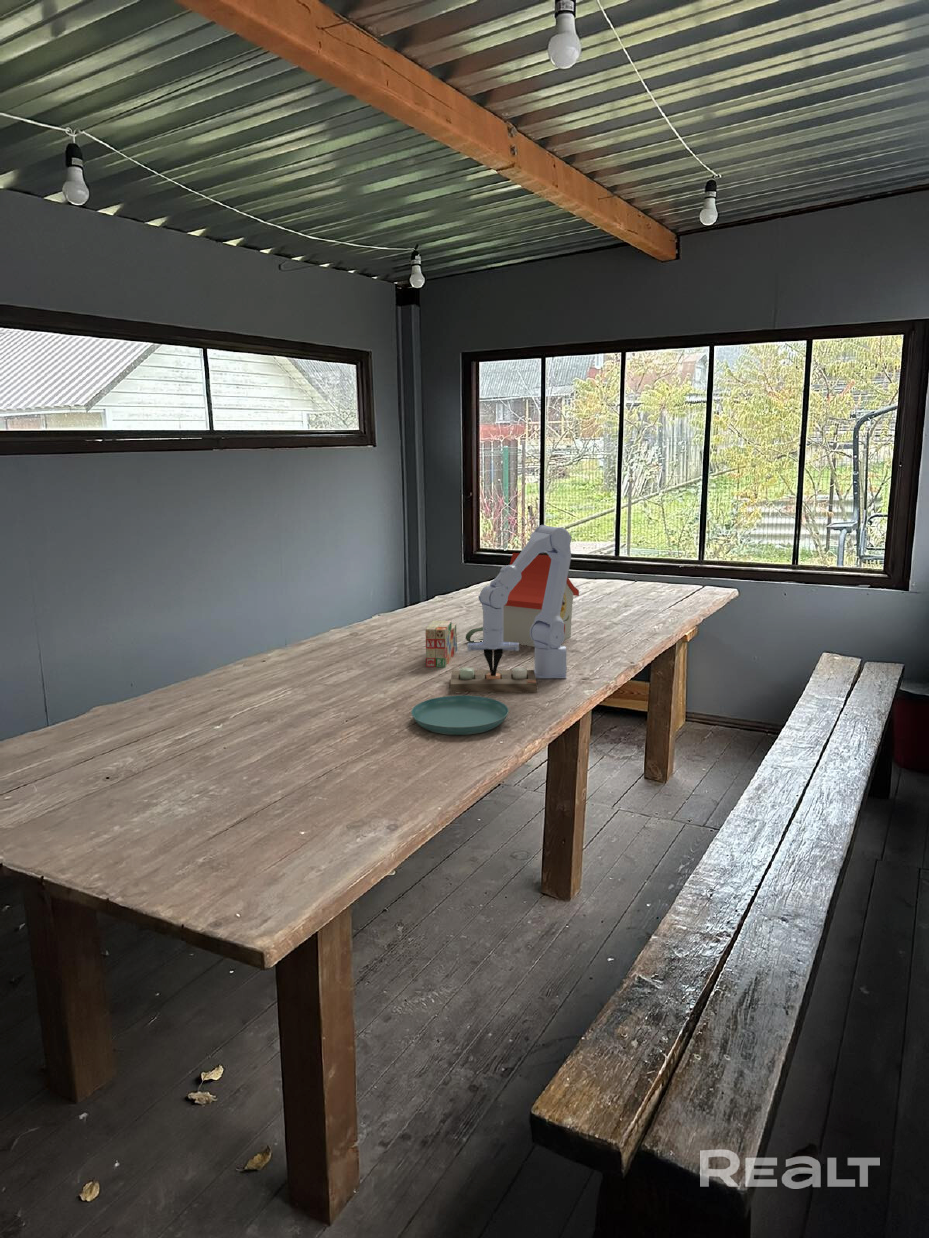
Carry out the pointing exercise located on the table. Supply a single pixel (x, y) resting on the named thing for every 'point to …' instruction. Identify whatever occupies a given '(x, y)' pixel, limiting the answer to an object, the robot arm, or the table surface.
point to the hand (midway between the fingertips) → (493, 675)
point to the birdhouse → (531, 603)
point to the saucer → (460, 714)
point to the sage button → (466, 673)
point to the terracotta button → (488, 676)
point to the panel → (493, 682)
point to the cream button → (519, 673)
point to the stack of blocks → (440, 643)
